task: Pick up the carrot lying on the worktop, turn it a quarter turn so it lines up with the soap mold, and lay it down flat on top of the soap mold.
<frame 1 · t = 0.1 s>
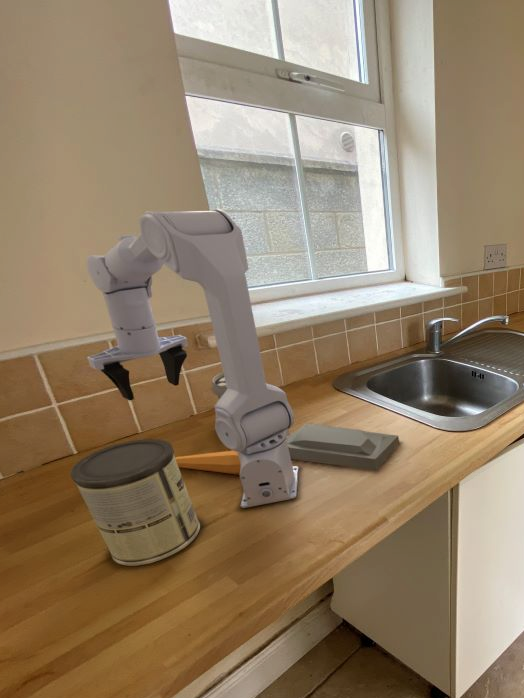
hand: (151, 390, 85), 10 cm above the countertop, tool pointing down, fingers open, 7 cm apart
coffee can: (158, 540, 65), on the countertop
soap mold: (340, 450, 88), on the countertop, touching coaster
carrot: (202, 467, 81), on the countertop
food container: (241, 424, 96), on the countertop
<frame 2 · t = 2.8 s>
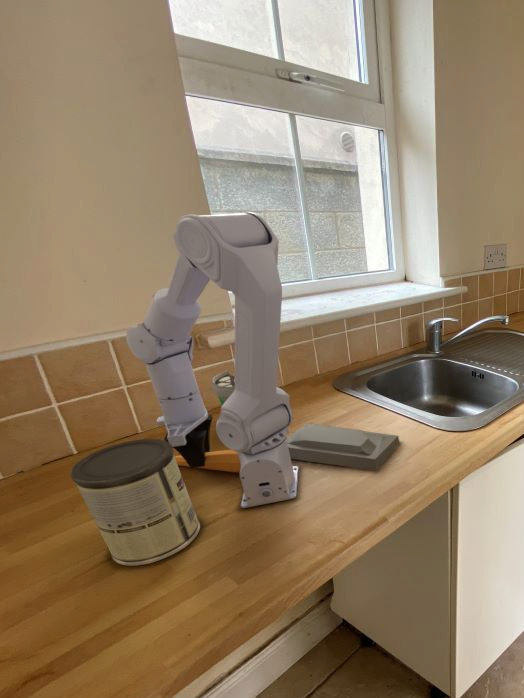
hand: (200, 460, 81), 1 cm above the countertop, tool pointing down, fingers closed on carrot, 3 cm apart
carrot: (203, 466, 82), on the countertop, touching gripper
everything else where it was.
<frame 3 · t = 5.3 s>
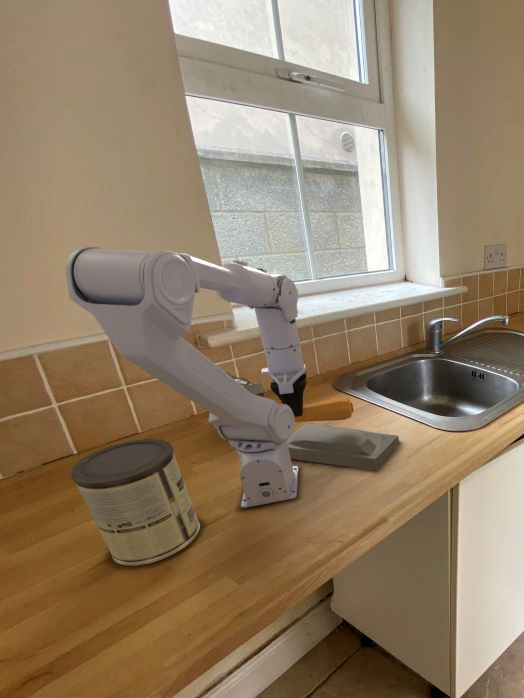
hand: (296, 413, 84), 8 cm above the countertop, tool pointing down, fingers closed on carrot
carrot: (297, 420, 85), point 7 cm above the countertop, touching gripper
everything else where it was.
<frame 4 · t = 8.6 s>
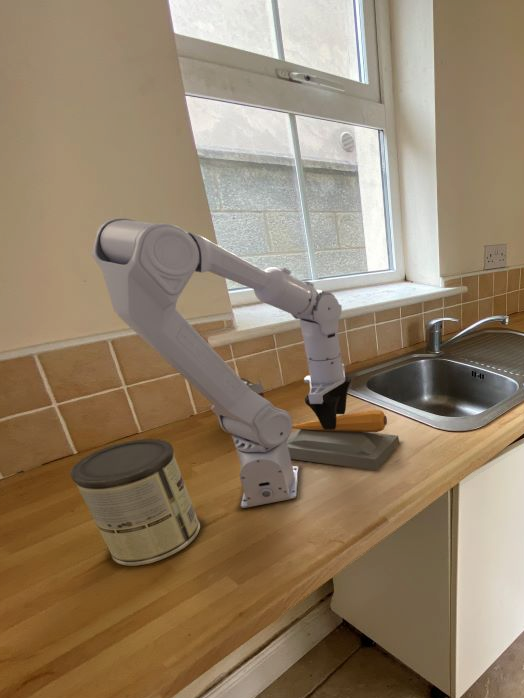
hand: (334, 420, 87), 6 cm above the countertop, tool pointing down, fingers open, 6 cm apart
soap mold: (340, 450, 88), on the countertop, touching carrot, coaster
carrot: (335, 429, 89), point 4 cm above the countertop, touching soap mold
everything else where it was.
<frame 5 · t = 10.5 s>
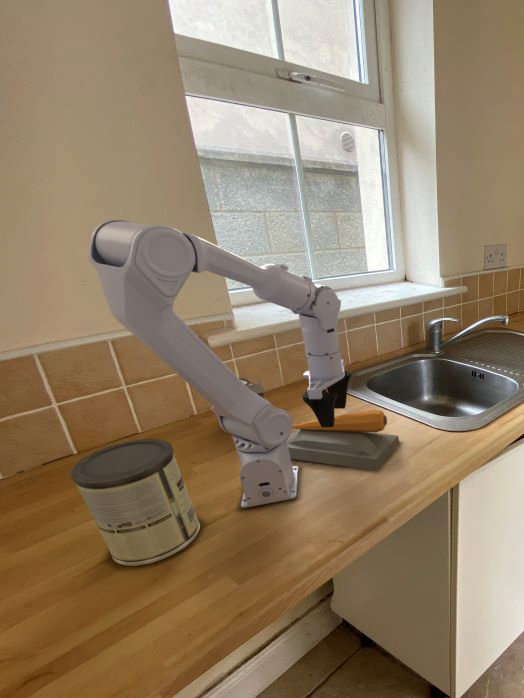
hand: (333, 416, 87), 7 cm above the countertop, tool pointing down, fingers open, 7 cm apart
nothing on the countertop moved.
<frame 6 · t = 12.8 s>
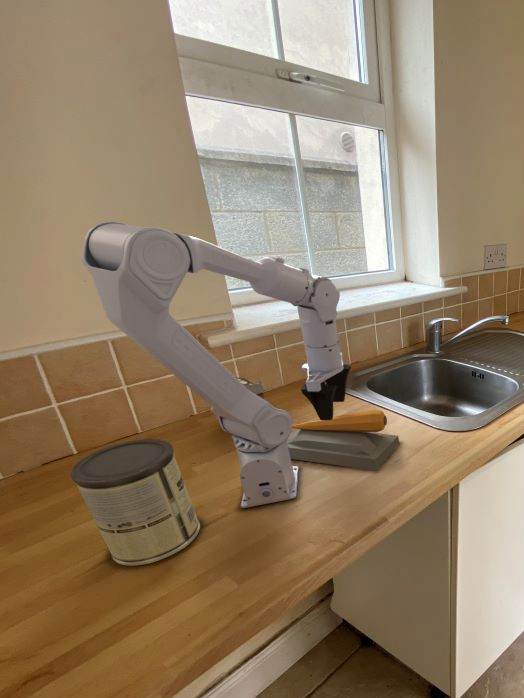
hand: (332, 410, 86), 8 cm above the countertop, tool pointing down, fingers open, 7 cm apart
nothing on the countertop moved.
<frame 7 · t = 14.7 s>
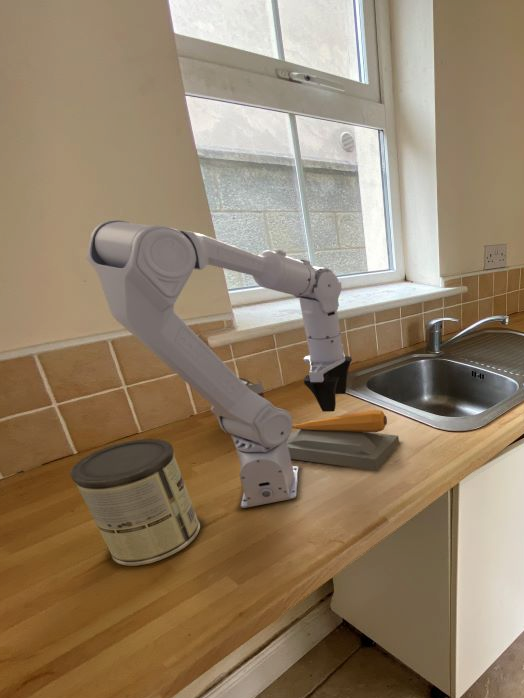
hand: (334, 401, 87), 9 cm above the countertop, tool pointing down, fingers open, 7 cm apart
nothing on the countertop moved.
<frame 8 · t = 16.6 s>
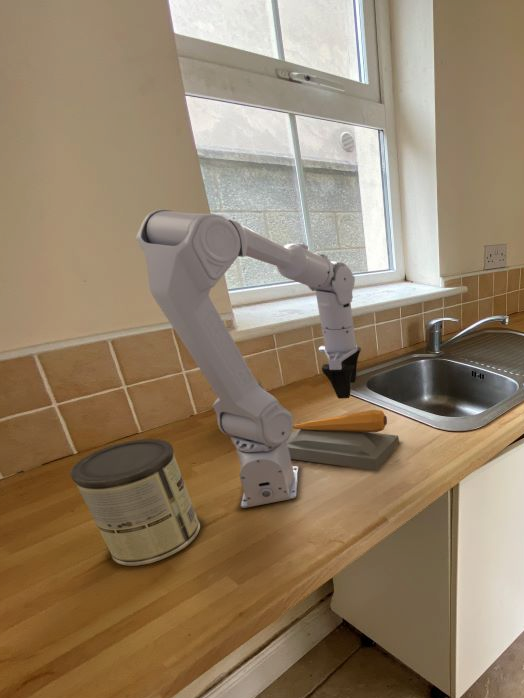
hand: (347, 389, 92), 9 cm above the countertop, tool pointing down, fingers open, 7 cm apart
nothing on the countertop moved.
at the end: carrot inside the target area on the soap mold (1.3 cm from its centre), point 3.5 cm above the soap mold's base; carrot touching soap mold; the gripper is holding nothing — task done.
